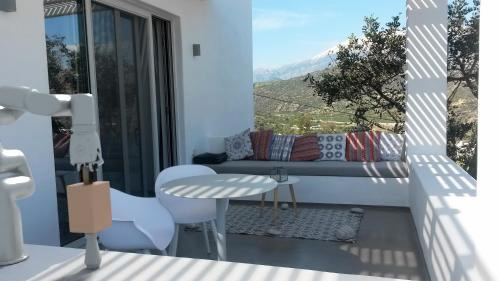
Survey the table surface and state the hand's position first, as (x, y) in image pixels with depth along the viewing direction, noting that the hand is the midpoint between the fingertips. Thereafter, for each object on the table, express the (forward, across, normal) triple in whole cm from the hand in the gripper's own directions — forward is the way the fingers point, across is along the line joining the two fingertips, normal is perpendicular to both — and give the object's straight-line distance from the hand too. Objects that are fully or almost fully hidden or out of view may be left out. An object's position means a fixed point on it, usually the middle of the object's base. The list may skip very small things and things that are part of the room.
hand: (88, 181), depth 153 cm
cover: (+17, 0, 0) cm, 17 cm away
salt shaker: (+31, 0, 0) cm, 31 cm away
